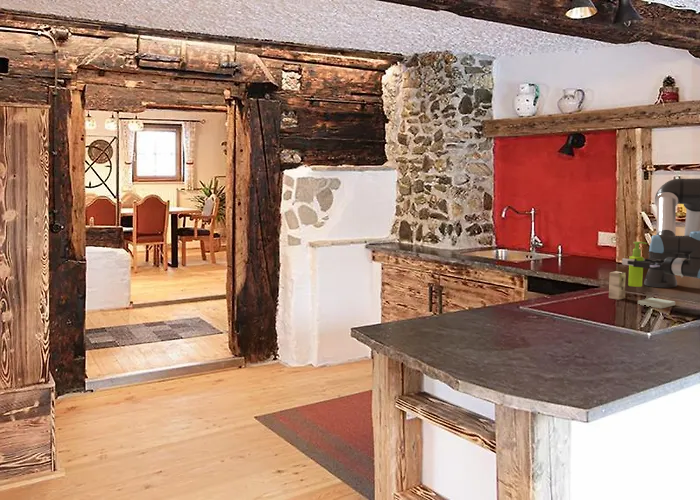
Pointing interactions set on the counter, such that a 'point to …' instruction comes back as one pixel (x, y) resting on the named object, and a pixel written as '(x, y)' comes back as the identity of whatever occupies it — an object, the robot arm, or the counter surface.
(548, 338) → the counter surface
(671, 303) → the sage pad
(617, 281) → the birch post
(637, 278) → the soap dispenser
